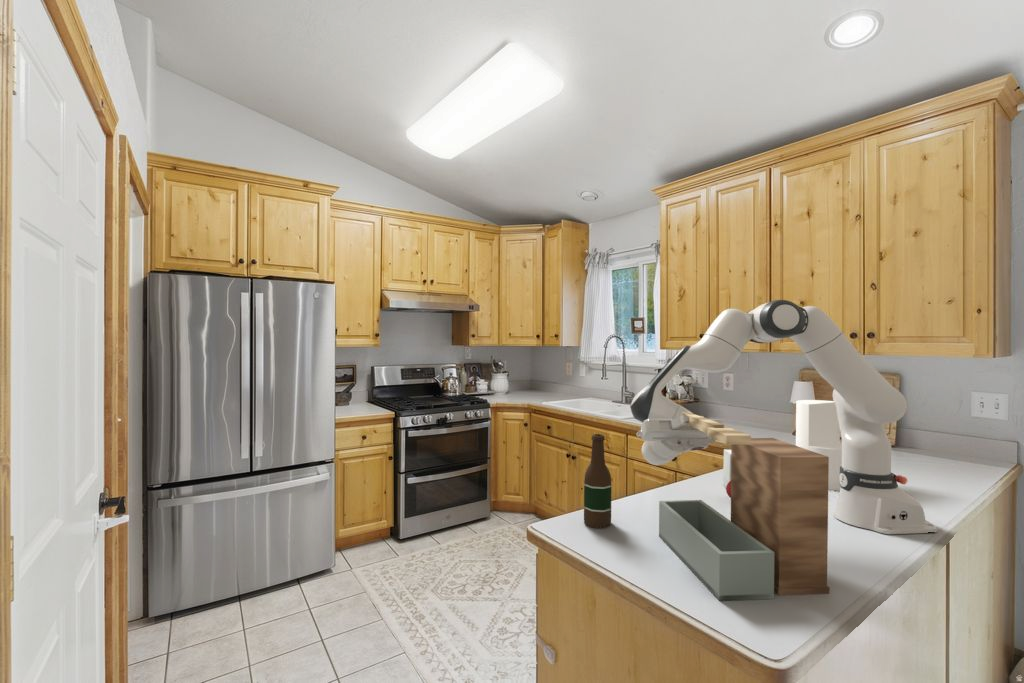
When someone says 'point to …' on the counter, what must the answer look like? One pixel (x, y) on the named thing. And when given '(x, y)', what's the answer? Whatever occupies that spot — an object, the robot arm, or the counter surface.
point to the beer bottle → (597, 487)
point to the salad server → (718, 430)
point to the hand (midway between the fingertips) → (693, 418)
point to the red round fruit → (728, 489)
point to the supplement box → (727, 467)
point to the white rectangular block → (820, 434)
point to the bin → (717, 551)
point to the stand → (784, 509)
